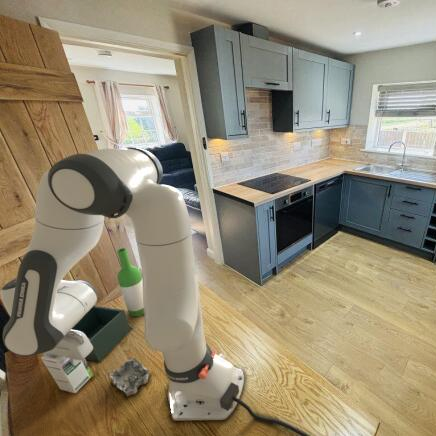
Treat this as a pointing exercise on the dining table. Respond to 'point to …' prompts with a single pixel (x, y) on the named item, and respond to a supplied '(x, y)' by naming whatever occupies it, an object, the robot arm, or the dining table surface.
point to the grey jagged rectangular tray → (130, 376)
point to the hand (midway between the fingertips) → (65, 361)
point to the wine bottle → (131, 284)
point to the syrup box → (67, 372)
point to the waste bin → (103, 329)
